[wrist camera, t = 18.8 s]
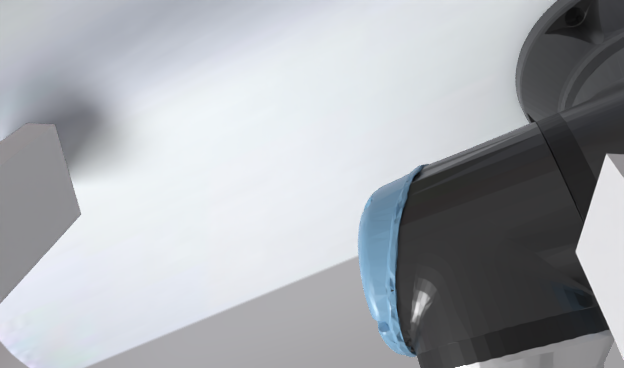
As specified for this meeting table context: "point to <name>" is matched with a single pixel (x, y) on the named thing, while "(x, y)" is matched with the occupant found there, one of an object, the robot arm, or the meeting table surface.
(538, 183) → the robot arm
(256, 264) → the meeting table surface
